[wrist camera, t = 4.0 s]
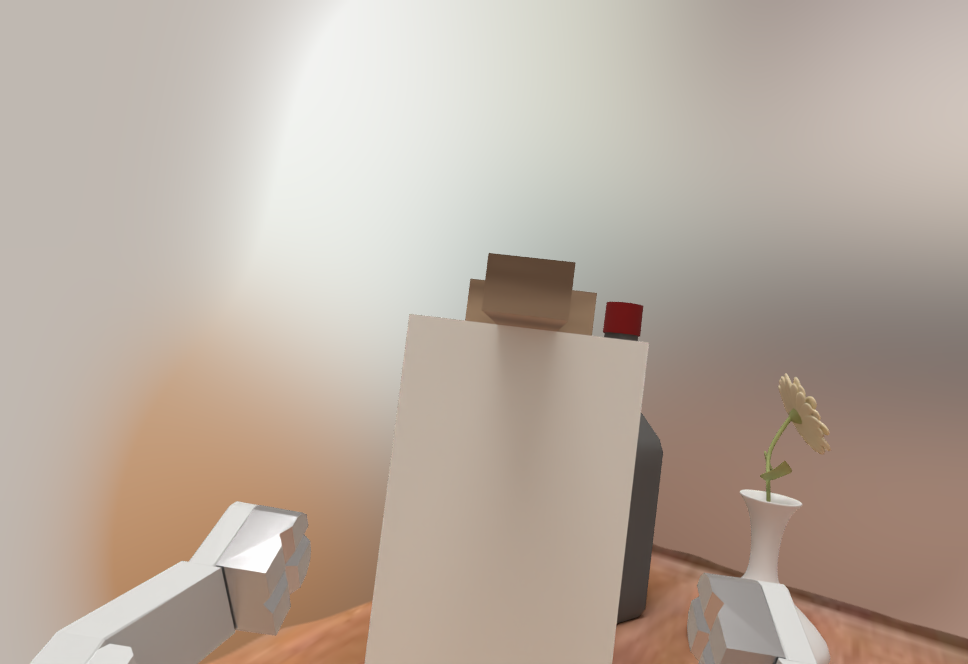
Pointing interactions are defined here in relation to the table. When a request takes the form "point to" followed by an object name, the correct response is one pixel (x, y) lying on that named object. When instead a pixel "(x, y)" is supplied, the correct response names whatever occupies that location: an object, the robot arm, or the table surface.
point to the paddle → (531, 296)
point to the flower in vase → (783, 501)
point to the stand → (506, 496)
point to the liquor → (637, 481)
